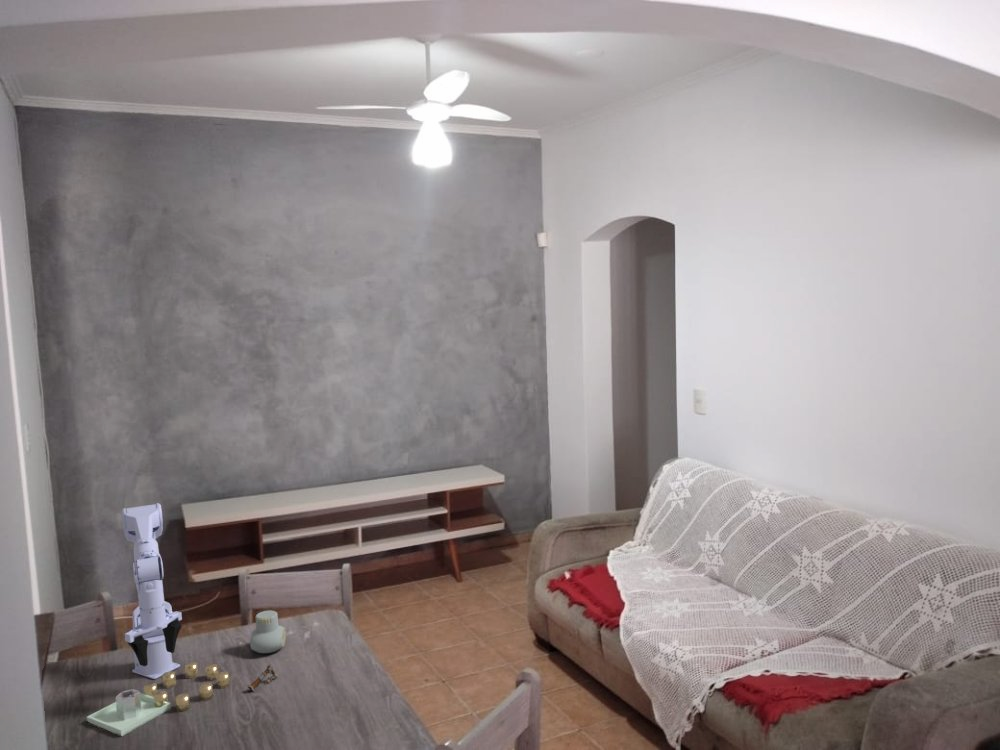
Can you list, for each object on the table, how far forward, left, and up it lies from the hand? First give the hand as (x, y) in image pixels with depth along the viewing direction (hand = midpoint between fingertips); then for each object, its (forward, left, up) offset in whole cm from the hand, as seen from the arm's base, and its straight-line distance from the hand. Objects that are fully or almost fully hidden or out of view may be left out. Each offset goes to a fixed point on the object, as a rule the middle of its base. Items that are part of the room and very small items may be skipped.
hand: (157, 658), depth 196 cm
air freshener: (+6, +30, -10) cm, 32 cm away
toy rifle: (+20, +14, -10) cm, 27 cm away
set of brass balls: (+5, +4, -9) cm, 11 cm away
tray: (+2, -10, -9) cm, 14 cm away
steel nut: (+2, -10, -9) cm, 14 cm away
